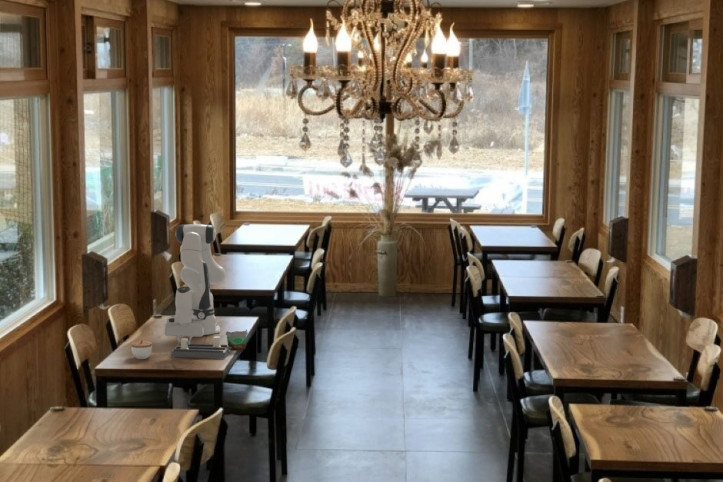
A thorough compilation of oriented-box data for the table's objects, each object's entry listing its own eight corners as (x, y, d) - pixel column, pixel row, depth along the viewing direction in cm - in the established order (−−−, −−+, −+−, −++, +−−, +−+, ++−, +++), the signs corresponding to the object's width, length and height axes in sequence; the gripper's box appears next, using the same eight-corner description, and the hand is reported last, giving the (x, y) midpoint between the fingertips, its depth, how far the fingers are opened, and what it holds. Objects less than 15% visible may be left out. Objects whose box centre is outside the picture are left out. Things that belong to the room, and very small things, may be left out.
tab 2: (213, 346, 568) (213, 336, 567) (221, 346, 568) (221, 336, 567) (212, 347, 565) (212, 337, 564) (220, 348, 565) (220, 337, 564)
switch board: (177, 350, 571) (177, 343, 570) (229, 352, 570) (229, 344, 569) (171, 356, 558) (171, 349, 557) (224, 358, 557) (224, 350, 556)
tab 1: (181, 348, 562) (181, 338, 561) (188, 348, 562) (188, 338, 561) (180, 350, 559) (179, 339, 558) (187, 350, 559) (187, 339, 558)
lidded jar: (149, 354, 563) (148, 336, 562) (154, 359, 554) (154, 341, 552) (128, 356, 558) (128, 338, 557) (134, 361, 549) (134, 343, 547)
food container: (229, 352, 570) (229, 333, 568) (225, 349, 575) (225, 331, 574) (251, 349, 576) (251, 331, 574) (247, 347, 581) (247, 329, 579)
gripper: (205, 317, 561) (205, 343, 563) (166, 316, 562) (166, 342, 564) (202, 320, 554) (202, 346, 557) (163, 319, 555) (164, 345, 558)
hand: (184, 344), depth 560 cm, fingers closed on tab 1, 3 cm apart
